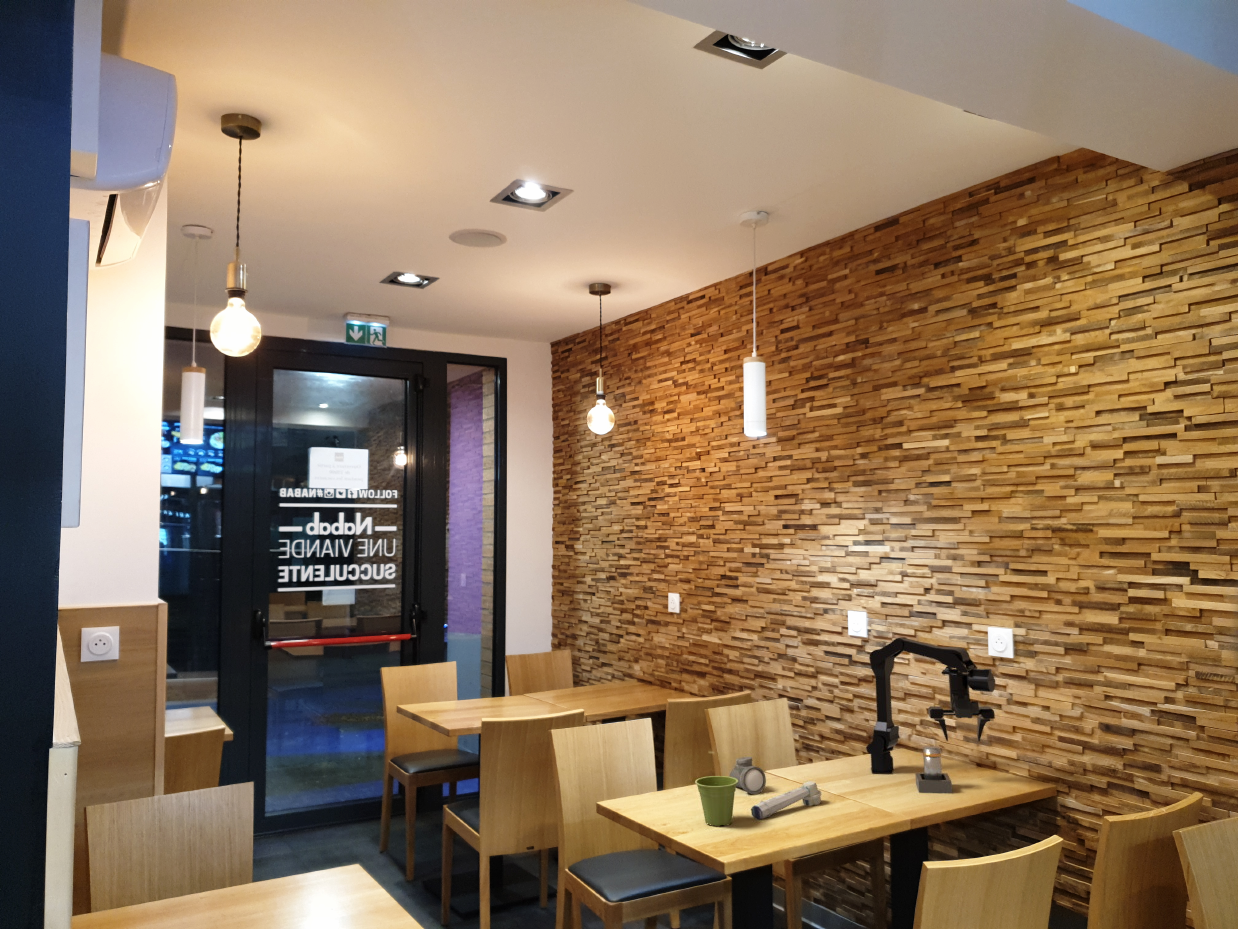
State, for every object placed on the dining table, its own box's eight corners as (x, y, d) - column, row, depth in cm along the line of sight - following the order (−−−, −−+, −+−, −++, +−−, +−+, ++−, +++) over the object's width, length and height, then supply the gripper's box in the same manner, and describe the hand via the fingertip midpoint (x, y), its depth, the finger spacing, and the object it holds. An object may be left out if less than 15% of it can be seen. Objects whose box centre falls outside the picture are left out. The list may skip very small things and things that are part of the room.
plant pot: (742, 817, 257) (740, 775, 258) (737, 830, 245) (735, 787, 246) (700, 815, 260) (698, 774, 261) (693, 828, 248) (692, 786, 249)
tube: (925, 790, 276) (923, 749, 277) (923, 786, 281) (921, 746, 282) (943, 791, 275) (941, 750, 276) (941, 786, 280) (939, 746, 281)
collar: (919, 792, 274) (918, 780, 275) (915, 784, 283) (915, 772, 284) (952, 793, 272) (951, 781, 273) (947, 785, 281) (947, 773, 282)
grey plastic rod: (748, 803, 257) (809, 774, 272) (751, 827, 257) (812, 797, 272) (761, 807, 252) (822, 778, 268) (765, 832, 252) (826, 800, 268)
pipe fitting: (769, 791, 280) (763, 756, 282) (746, 797, 277) (740, 762, 279) (750, 786, 291) (744, 753, 293) (728, 792, 288) (722, 758, 290)
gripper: (930, 694, 278) (934, 746, 277) (996, 693, 274) (1000, 747, 273) (926, 688, 289) (929, 738, 287) (989, 687, 285) (993, 739, 284)
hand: (962, 741), depth 282 cm, fingers open, 9 cm apart
